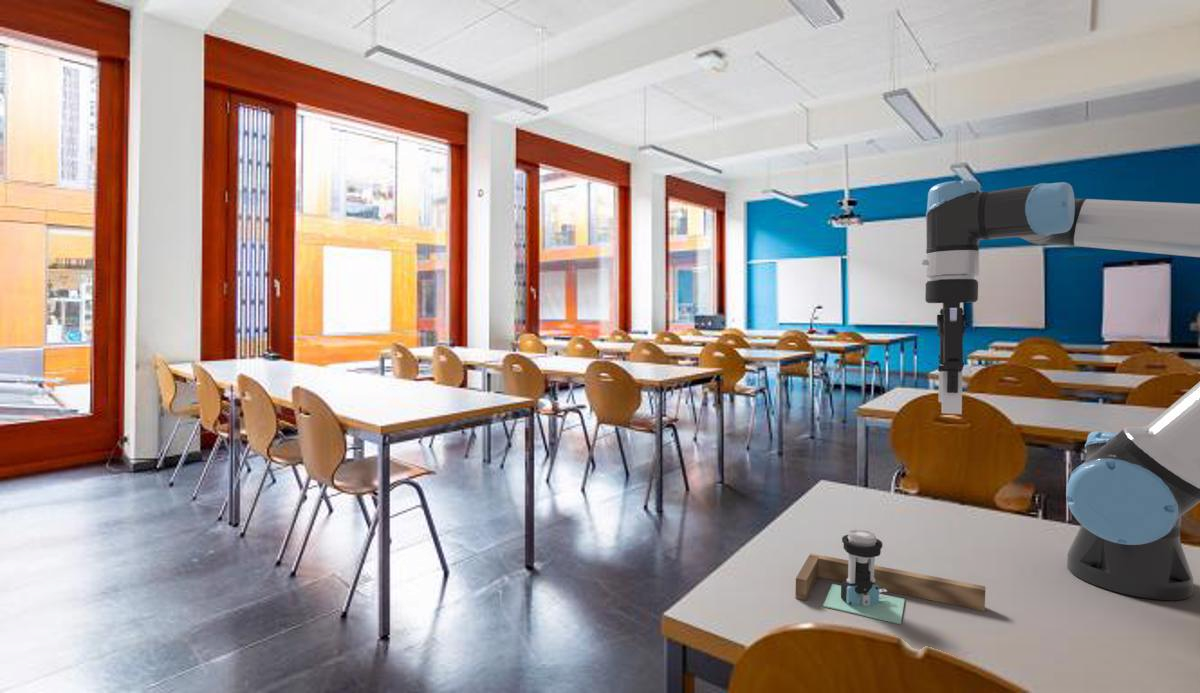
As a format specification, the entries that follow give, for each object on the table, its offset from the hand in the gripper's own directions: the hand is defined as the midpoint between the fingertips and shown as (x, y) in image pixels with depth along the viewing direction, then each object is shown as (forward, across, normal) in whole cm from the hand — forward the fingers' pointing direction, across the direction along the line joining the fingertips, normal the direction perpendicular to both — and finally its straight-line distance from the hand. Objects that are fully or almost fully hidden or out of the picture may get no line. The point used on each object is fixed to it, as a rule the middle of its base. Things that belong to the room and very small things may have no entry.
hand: (949, 407), depth 103 cm
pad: (+26, +22, -11) cm, 36 cm away
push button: (+26, +22, -11) cm, 36 cm away
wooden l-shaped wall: (+26, +20, -8) cm, 34 cm away
